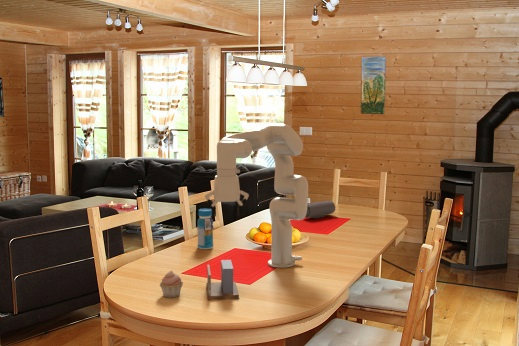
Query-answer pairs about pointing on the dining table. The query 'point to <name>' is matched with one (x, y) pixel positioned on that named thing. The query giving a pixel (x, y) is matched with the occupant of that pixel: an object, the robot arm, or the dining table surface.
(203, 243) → the beverage bottle
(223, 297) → the bent wood veneer panel
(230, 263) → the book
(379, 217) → the dining table surface
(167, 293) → the cupcake
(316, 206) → the bluetooth speaker
